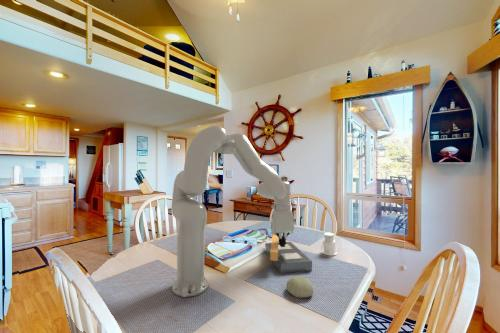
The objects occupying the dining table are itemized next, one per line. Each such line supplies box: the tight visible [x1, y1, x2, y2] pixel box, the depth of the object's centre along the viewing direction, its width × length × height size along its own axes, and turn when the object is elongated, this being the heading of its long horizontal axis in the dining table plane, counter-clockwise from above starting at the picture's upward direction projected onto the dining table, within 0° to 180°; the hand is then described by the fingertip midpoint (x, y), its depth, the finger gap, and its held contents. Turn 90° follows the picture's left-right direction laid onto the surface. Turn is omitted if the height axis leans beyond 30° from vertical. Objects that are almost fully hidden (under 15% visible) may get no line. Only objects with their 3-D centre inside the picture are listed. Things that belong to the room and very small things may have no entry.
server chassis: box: [264, 241, 313, 274], centre depth 107 cm, size 30×14×5 cm, turn 12°
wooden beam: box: [269, 234, 279, 262], centre depth 107 cm, size 30×4×4 cm, turn 172°
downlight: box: [320, 232, 339, 256], centre depth 114 cm, size 8×7×10 cm
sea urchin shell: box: [285, 275, 314, 299], centre depth 78 cm, size 9×8×8 cm
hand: (282, 246), depth 104 cm, fingers closed
